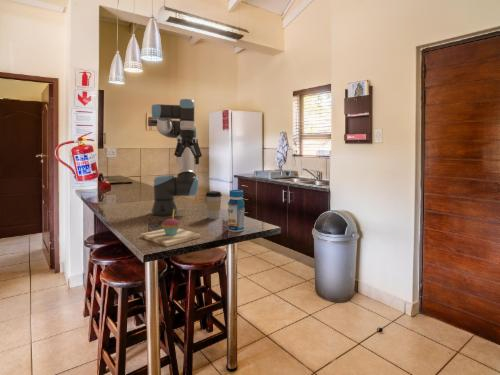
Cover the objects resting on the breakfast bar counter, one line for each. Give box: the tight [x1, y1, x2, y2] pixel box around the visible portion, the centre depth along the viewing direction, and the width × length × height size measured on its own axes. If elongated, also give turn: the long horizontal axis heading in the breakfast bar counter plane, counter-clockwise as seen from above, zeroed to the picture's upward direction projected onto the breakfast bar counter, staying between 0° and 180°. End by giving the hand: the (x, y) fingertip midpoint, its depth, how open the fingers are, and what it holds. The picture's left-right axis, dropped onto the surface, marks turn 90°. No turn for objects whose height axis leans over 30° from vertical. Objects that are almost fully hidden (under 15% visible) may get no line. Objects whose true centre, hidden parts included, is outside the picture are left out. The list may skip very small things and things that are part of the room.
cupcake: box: [160, 210, 181, 236], centre depth 147 cm, size 9×8×12 cm
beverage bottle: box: [227, 189, 246, 233], centre depth 161 cm, size 8×8×20 cm
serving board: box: [140, 227, 201, 247], centre depth 148 cm, size 20×18×2 cm
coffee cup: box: [205, 190, 223, 220], centre depth 188 cm, size 9×9×15 cm
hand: (187, 169), depth 174 cm, fingers open, 13 cm apart
